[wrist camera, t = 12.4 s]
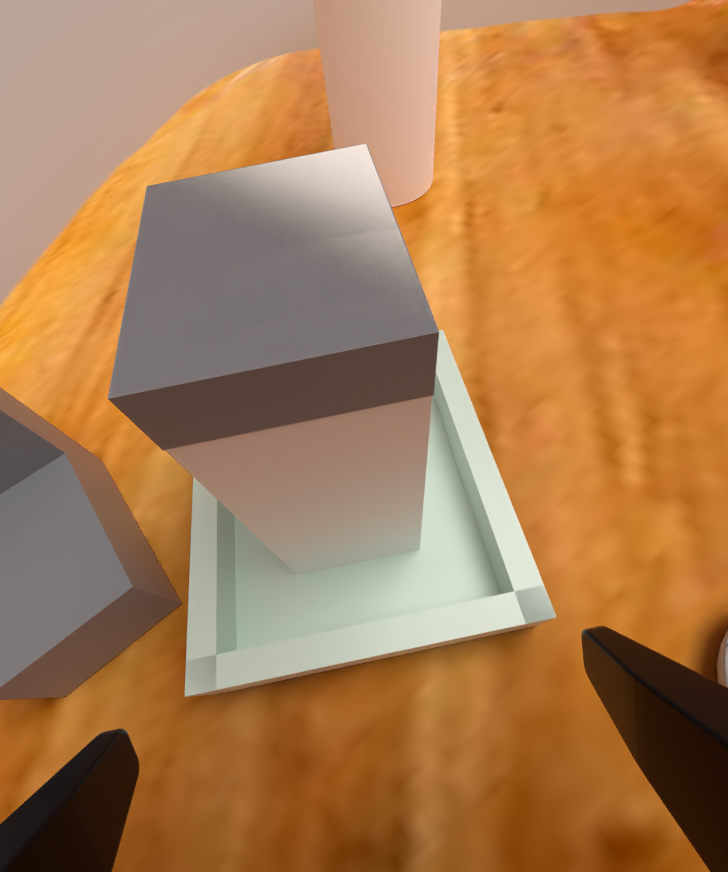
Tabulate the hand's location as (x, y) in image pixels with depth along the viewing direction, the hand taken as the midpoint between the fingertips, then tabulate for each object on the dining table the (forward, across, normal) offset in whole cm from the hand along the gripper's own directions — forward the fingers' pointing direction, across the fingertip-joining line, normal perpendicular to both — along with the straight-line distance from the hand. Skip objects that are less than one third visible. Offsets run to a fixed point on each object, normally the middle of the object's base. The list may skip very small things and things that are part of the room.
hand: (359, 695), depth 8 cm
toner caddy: (+10, 0, 0) cm, 10 cm away
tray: (+11, 0, 0) cm, 11 cm away
